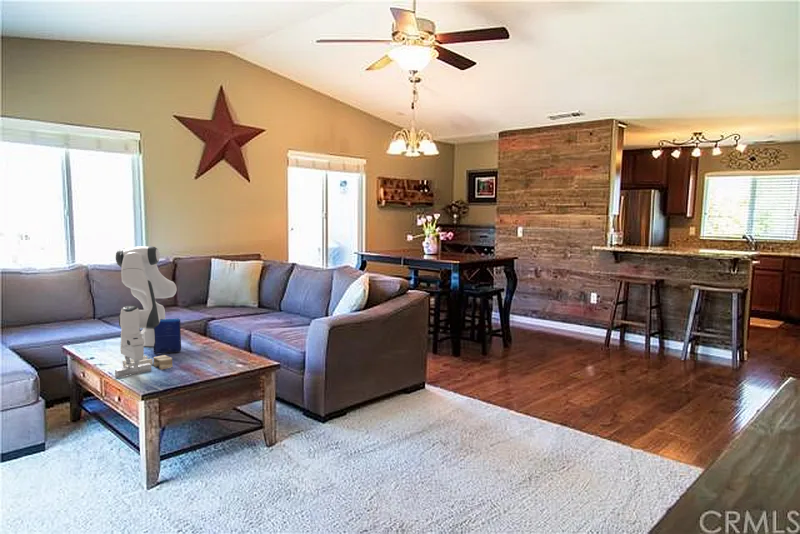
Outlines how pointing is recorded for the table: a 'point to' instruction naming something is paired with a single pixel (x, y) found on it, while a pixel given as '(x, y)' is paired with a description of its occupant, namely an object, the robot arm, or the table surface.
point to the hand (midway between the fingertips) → (132, 365)
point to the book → (167, 336)
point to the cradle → (139, 362)
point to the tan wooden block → (163, 362)
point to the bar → (132, 370)
